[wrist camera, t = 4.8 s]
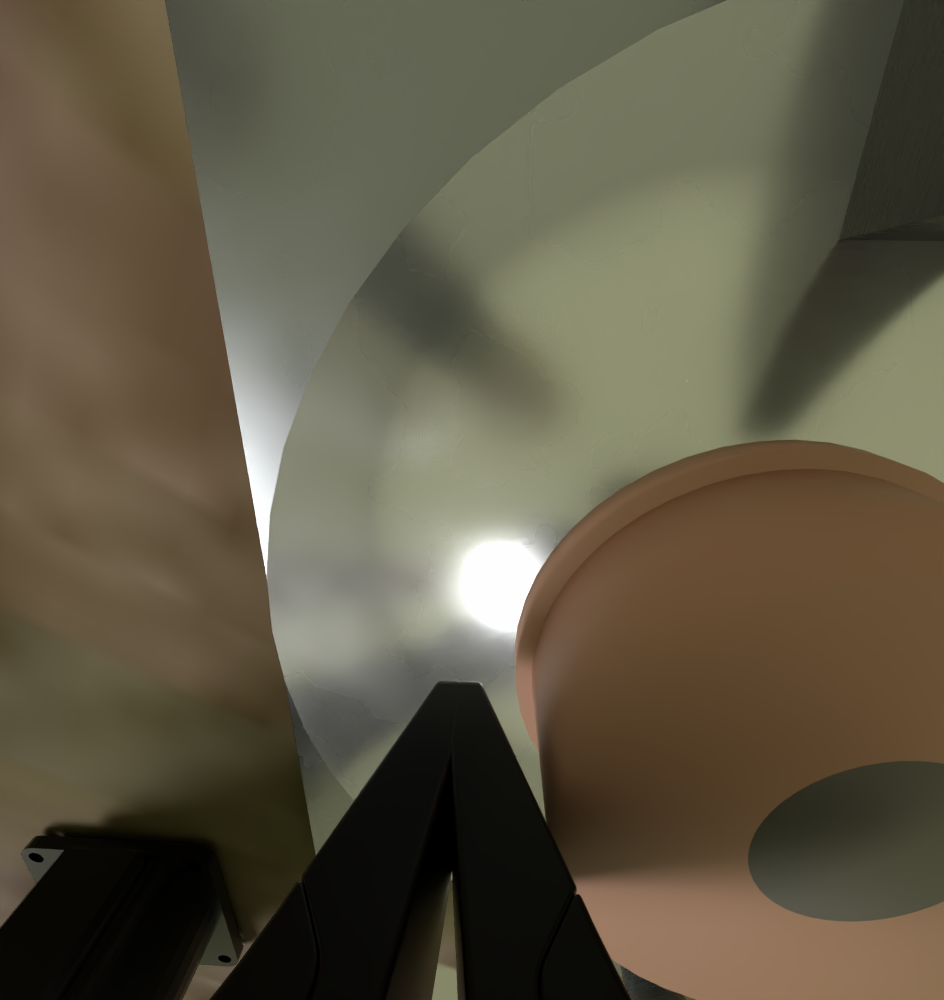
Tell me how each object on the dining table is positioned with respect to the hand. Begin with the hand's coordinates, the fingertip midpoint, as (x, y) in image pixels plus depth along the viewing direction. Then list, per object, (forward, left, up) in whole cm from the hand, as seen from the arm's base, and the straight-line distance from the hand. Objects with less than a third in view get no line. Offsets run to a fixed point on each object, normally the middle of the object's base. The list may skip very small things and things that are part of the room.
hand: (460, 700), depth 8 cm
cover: (0, -5, -2) cm, 6 cm away
